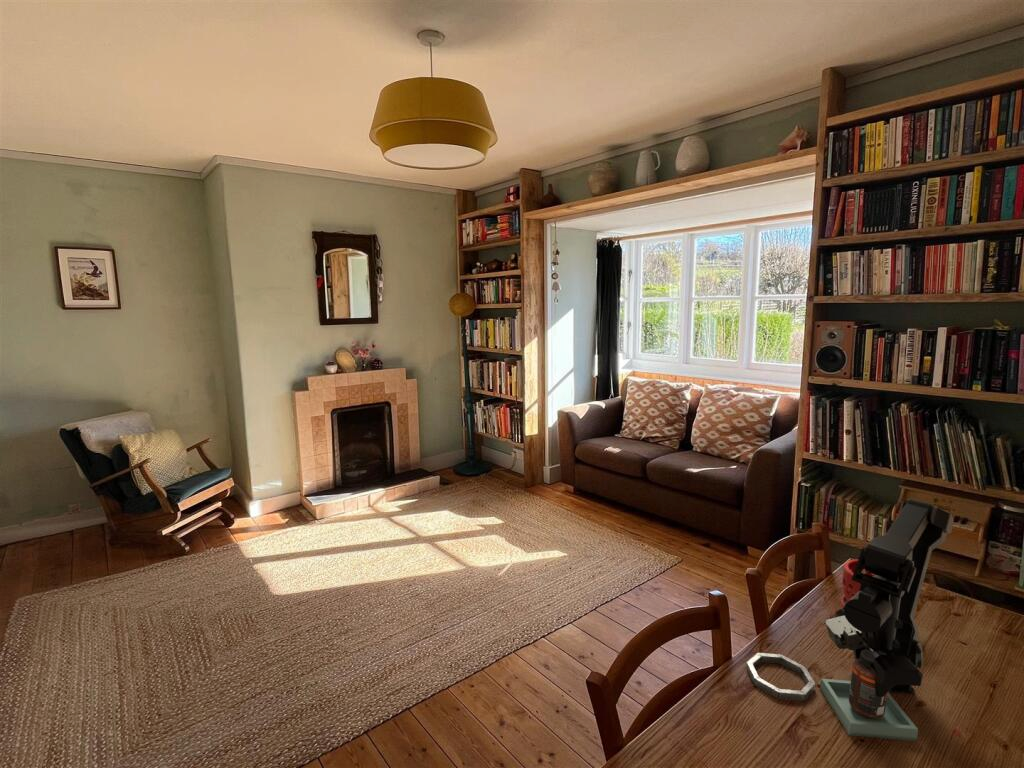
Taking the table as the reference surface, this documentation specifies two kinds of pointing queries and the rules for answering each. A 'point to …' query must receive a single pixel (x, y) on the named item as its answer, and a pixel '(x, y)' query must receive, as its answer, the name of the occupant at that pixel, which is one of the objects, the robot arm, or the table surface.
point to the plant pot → (850, 581)
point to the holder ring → (774, 690)
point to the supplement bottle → (866, 687)
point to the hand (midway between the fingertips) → (869, 683)
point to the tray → (857, 724)
